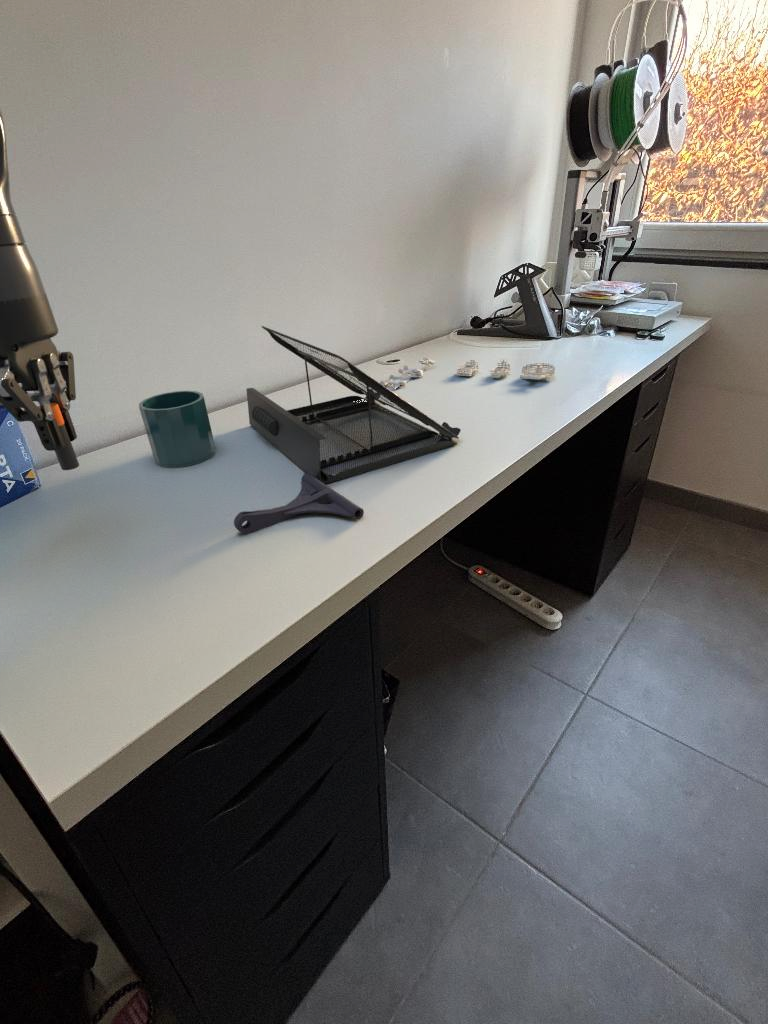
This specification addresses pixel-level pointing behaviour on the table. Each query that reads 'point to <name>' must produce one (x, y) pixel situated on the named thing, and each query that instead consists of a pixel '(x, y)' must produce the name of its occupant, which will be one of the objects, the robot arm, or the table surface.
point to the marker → (67, 453)
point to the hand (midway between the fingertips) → (61, 444)
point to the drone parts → (470, 369)
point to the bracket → (300, 507)
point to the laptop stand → (305, 440)
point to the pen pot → (178, 428)
